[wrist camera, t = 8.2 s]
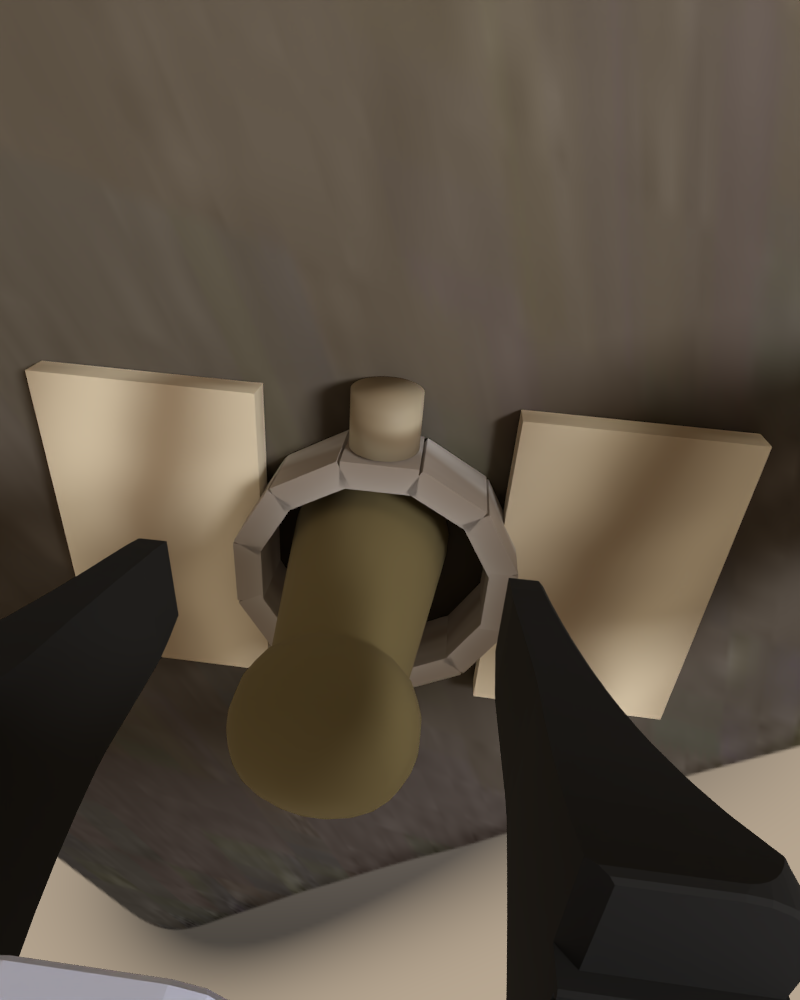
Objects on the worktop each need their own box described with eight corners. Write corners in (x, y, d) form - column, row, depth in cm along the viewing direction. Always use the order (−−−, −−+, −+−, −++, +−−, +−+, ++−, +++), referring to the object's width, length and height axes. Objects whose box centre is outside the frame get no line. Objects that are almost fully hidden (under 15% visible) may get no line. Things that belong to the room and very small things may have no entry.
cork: (337, 609, 27) (265, 866, 18) (269, 494, 25) (144, 726, 15) (471, 573, 26) (468, 836, 16) (413, 445, 23) (370, 672, 14)
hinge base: (767, 414, 21) (800, 448, 19) (650, 712, 29) (664, 760, 27) (37, 341, 22) (-9, 365, 20) (107, 644, 30) (78, 685, 28)
